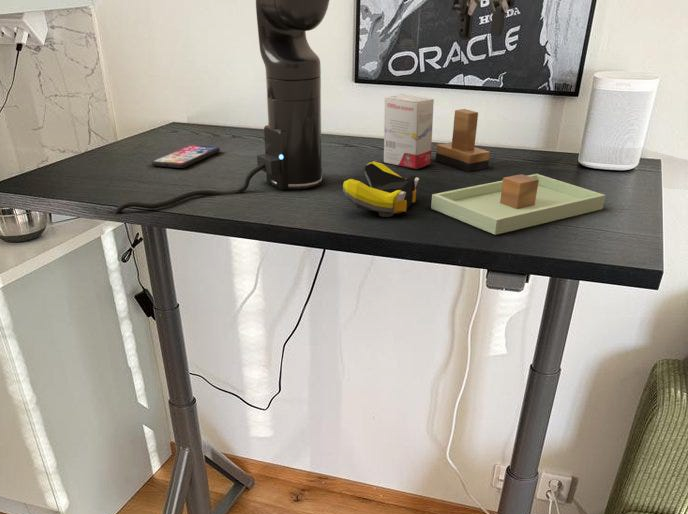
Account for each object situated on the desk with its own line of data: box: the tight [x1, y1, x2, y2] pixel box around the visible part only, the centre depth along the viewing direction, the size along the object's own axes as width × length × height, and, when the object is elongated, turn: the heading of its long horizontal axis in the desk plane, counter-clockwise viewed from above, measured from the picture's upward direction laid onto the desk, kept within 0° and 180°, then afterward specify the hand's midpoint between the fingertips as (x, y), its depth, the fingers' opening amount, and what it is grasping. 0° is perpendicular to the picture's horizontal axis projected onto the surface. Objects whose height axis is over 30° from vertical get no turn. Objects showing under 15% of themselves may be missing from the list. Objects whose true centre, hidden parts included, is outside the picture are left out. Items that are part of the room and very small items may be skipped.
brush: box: [435, 108, 491, 173], centre depth 140 cm, size 5×10×10 cm, turn 32°
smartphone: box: [151, 144, 221, 169], centre depth 147 cm, size 8×1×15 cm
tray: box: [430, 173, 606, 236], centre depth 119 cm, size 24×16×2 cm, turn 122°
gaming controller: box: [342, 161, 420, 218], centre depth 120 cm, size 15×6×10 cm
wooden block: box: [500, 173, 539, 209], centre depth 118 cm, size 4×4×4 cm
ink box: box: [383, 93, 435, 170], centre depth 140 cm, size 9×5×12 cm, turn 44°
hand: (480, 37), depth 133 cm, fingers open, 8 cm apart
